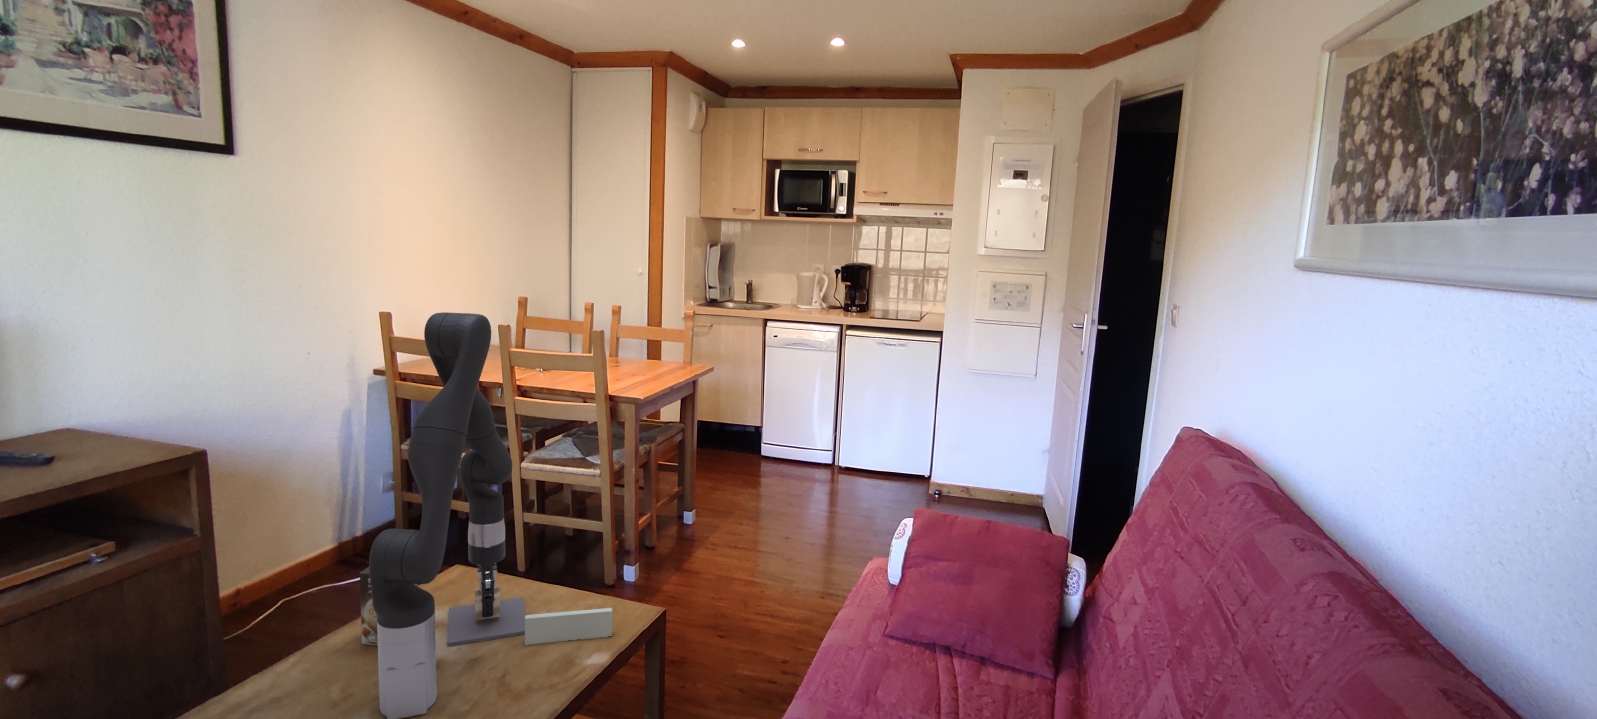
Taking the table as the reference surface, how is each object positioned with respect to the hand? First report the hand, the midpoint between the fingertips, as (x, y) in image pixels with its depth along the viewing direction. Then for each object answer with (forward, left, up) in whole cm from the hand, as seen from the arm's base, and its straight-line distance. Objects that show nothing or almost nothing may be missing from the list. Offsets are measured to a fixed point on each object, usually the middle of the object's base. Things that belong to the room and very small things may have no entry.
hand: (487, 610), depth 161 cm
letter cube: (0, 0, -1) cm, 1 cm away
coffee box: (-1, +19, -3) cm, 19 cm away
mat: (0, 0, -3) cm, 3 cm away
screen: (-13, -16, -3) cm, 21 cm away
